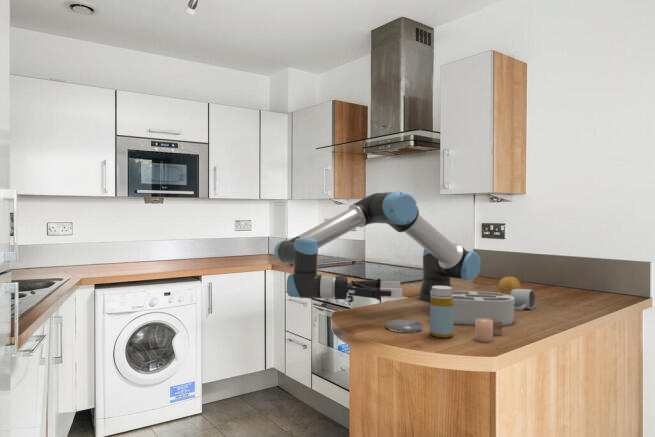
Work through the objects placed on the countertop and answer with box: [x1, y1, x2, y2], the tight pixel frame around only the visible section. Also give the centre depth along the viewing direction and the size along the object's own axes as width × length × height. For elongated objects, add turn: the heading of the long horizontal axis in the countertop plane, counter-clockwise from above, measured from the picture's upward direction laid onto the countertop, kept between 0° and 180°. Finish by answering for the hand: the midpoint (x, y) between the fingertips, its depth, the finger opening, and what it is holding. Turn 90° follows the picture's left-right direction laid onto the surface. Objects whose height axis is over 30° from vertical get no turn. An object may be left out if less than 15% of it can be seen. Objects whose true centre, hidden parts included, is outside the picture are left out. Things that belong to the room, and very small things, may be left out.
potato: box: [497, 276, 522, 295], centre depth 193 cm, size 10×13×9 cm
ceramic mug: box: [510, 288, 537, 311], centre depth 172 cm, size 11×8×8 cm
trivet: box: [385, 319, 424, 332], centre depth 142 cm, size 12×12×1 cm
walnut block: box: [488, 318, 503, 337], centre depth 136 cm, size 4×4×4 cm
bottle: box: [429, 286, 454, 339], centre depth 134 cm, size 7×7×15 cm
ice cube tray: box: [430, 290, 515, 327], centre depth 154 cm, size 17×28×9 cm, turn 81°
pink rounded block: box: [474, 318, 494, 343], centre depth 130 cm, size 5×5×6 cm
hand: (401, 289), depth 137 cm, fingers open, 13 cm apart
